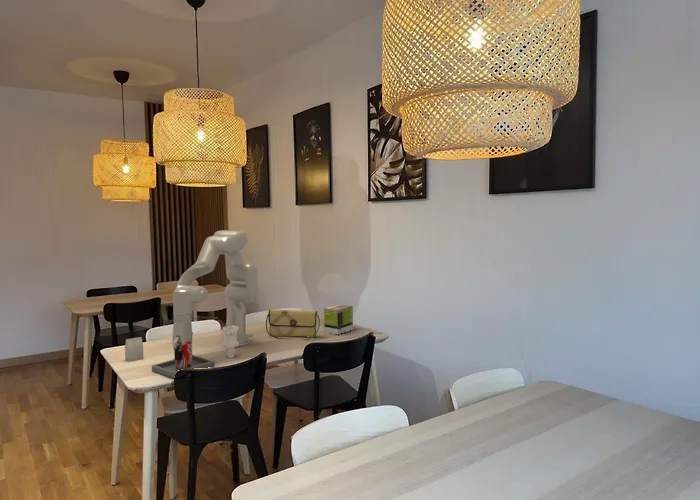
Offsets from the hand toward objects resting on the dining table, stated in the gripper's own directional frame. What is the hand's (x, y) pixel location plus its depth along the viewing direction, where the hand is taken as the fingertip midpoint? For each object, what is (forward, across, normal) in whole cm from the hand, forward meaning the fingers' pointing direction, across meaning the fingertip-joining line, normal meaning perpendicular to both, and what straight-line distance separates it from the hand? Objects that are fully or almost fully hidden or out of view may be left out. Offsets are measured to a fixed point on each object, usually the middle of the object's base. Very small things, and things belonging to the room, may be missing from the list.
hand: (183, 356), depth 201 cm
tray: (+6, 0, 0) cm, 6 cm away
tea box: (+6, -72, +60) cm, 94 cm away
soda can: (+5, 0, 0) cm, 5 cm away
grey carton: (+6, -10, -28) cm, 30 cm away
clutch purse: (+6, -56, +37) cm, 67 cm away
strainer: (+6, -19, +14) cm, 25 cm away
